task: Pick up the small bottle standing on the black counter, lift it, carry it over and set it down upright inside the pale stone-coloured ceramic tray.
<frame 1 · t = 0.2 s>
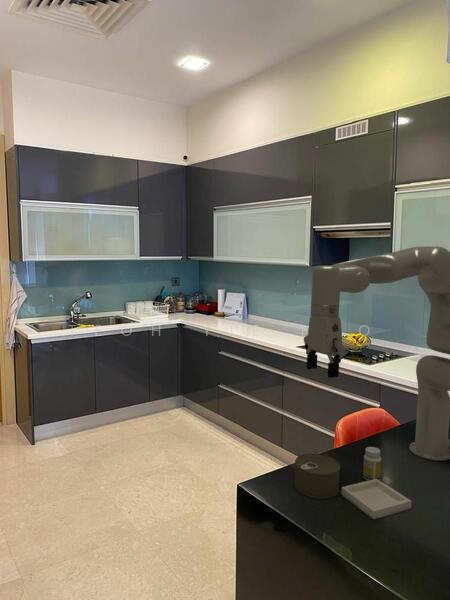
hand: (322, 372, 123), 30 cm above the worktop, fingers open, 9 cm apart
supplement bottle: (371, 478, 126), on the worktop
tray: (375, 501, 114), on the worktop
can: (316, 488, 121), on the worktop
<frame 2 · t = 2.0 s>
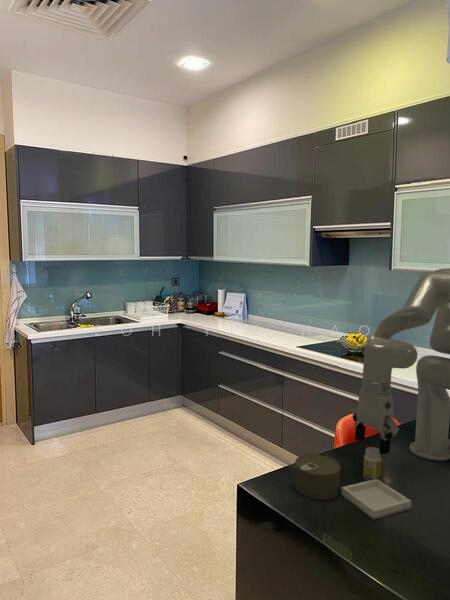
hand: (371, 446, 125), 10 cm above the worktop, fingers open, 9 cm apart
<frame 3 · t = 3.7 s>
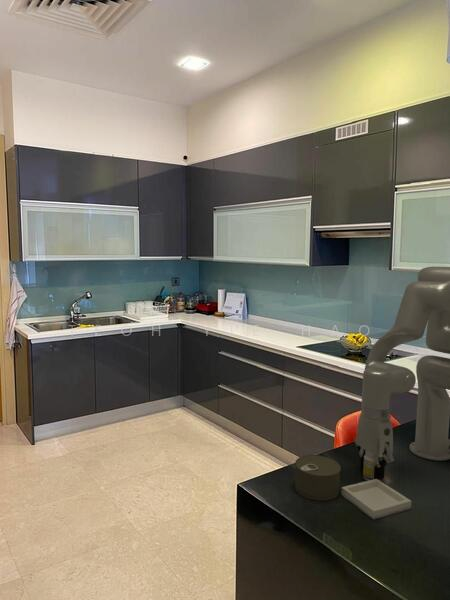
hand: (371, 474, 126), 1 cm above the worktop, fingers closed on supplement bottle, 4 cm apart
supplement bottle: (371, 478, 126), on the worktop, touching gripper
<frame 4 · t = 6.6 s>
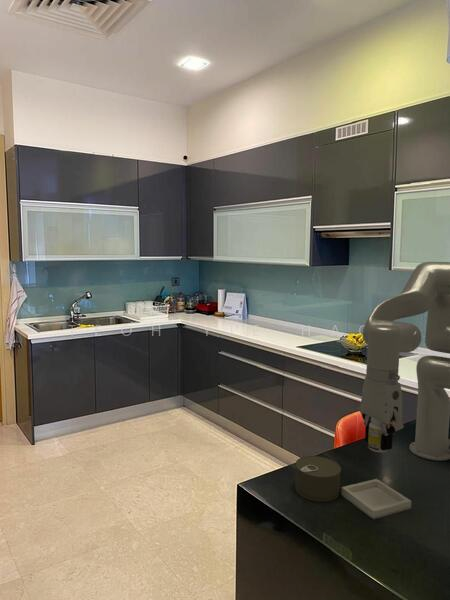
hand: (378, 444, 113), 15 cm above the worktop, fingers closed on supplement bottle, 4 cm apart
supplement bottle: (377, 449, 113), point 14 cm above the worktop, touching gripper
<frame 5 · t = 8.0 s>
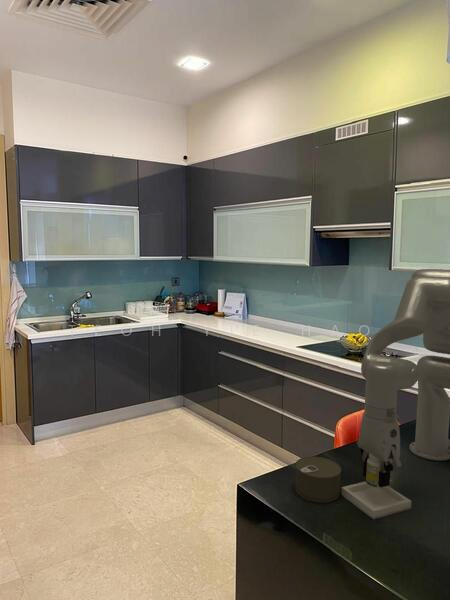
hand: (376, 480, 113), 6 cm above the worktop, fingers closed on supplement bottle, 4 cm apart
supplement bottle: (375, 485, 114), point 4 cm above the worktop, touching gripper
when the fingers open (3 cm above the worktop, at t = 9.4 s): supplement bottle drops 1 cm, resting on tray.
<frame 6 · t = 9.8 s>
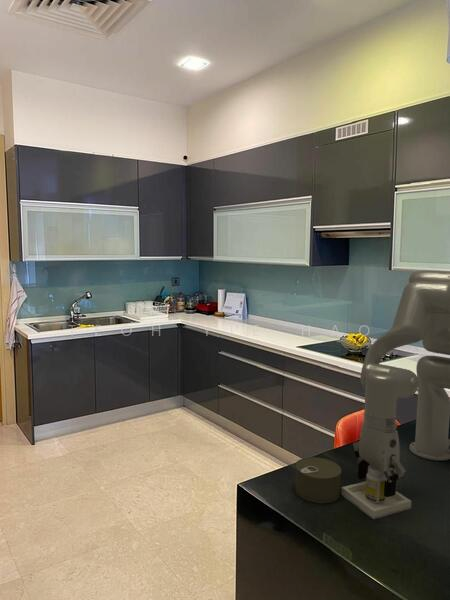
hand: (375, 486, 114), 4 cm above the worktop, fingers open, 9 cm apart
supplement bottle: (374, 499, 114), resting on tray
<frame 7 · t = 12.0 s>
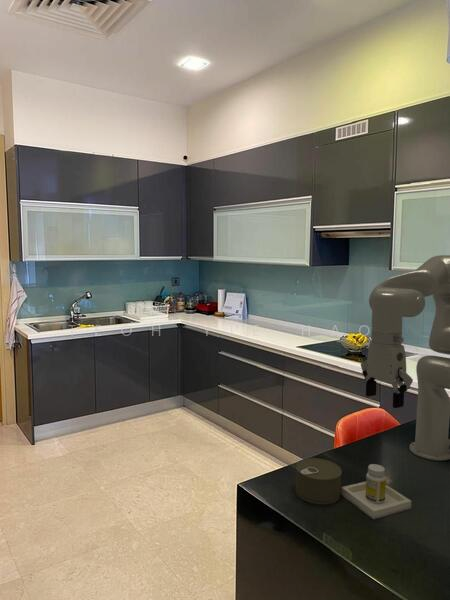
hand: (384, 401, 119), 24 cm above the worktop, fingers open, 9 cm apart
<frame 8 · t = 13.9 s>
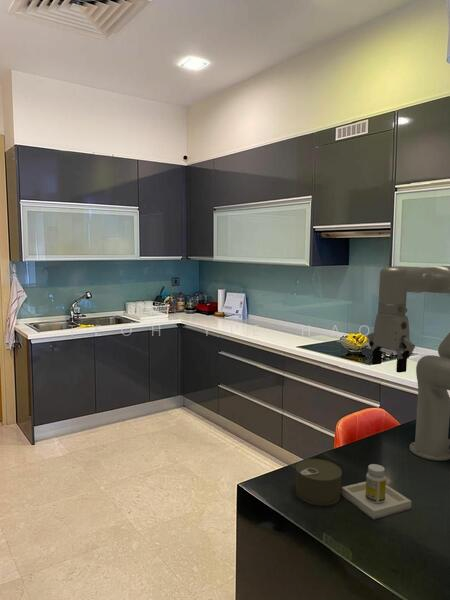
hand: (388, 367, 130), 30 cm above the worktop, fingers open, 9 cm apart
at the end: supplement bottle inside the target area on the tray (0.2 cm from its centre), point 0.4 cm above the tray's base; supplement bottle tilted 0°; the gripper is holding nothing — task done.
